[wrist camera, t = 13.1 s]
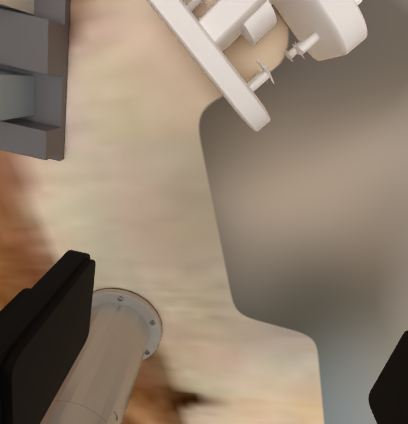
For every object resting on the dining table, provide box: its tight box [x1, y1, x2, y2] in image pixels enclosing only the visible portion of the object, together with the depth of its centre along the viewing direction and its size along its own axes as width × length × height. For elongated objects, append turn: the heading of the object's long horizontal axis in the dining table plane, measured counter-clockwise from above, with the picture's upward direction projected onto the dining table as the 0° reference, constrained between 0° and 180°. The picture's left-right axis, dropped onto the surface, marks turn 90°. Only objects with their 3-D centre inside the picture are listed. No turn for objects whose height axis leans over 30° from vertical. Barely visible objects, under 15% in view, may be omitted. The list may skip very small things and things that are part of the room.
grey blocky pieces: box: [0, 0, 70, 161], centre depth 32 cm, size 23×10×4 cm, turn 168°
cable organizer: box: [147, 0, 367, 132], centre depth 26 cm, size 15×11×12 cm
